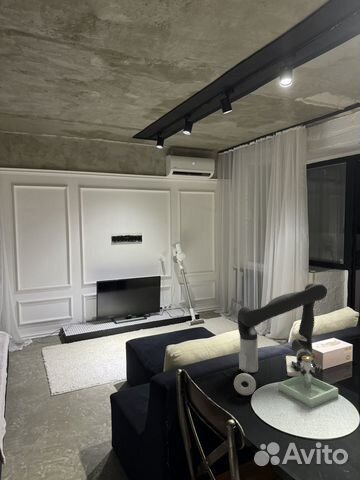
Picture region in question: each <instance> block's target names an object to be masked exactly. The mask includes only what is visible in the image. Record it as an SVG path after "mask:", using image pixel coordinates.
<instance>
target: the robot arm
mask: <svg viewBox="0 0 360 480" xmlns="http://www.w3.org/2000/svg"><path fill="white" fill-rule="evenodd" d="M327 294H328V288H327V287H326V286H325V285H324V284H321V283H319V282H317V283H315V282H314V283H312V282H311V283H308V284H306V285H305V287H304V289H303V290H300V291H295V292H290V293H289V292H288V293H285V294H282V295H279V296H276V297H274V298H273V299H271V300H270V301H269V302H268V303H267V304H266V305H263V306H261V307H258V308H251V307H249V306H243V307H241V308H240V309H239V311H238V313H237V326H238V327H237V328H238V332H239V344H240V345H239V347H240V348H239V349H240V350H239V351H238V363H239V365H238V367H239V368H238V369H239V370H240V369H241V371H243V373H246V374H249V373H252V374H253V373H257V372H258V371H259V353H258V352H259V350H258V349H259V348H258V345H259V344H258V332H257V330H256V328H255V327H256V326H258V325H259V324H262V323H263V322H265V321H267V320H270V319H272V318H275V317H278V316H280V315H283V314H285V313H286V314H287V313H289V312H291V311H293V310H296V309H298V308H300V307H302V306H303V307H302V315H301V318H300V319H301V320H300V323H299V328H298V334H299V335H300V336H301V337H304V338H305V340H306V341H305V340H302V339H299V338H296V339H293V340H292V341H291V349H292V352H293V353H294V354H295V355H296V357H297V363H296V362H293V361H292V368H294V369H295V370H296V371H297V372H301V374H303V376H305V375H304V361H303V360H302V356H311V357H312V358H313V356H312V355H313V354H312V353H313V341H312V340H313V339H312V338H313V331H314V327H315V314H314V310H315V309H314V307H315V303H316V302H317V301H321V300H324V299H325V298H326V297H327ZM321 370H322V364H321V362H318V363H316V362H315V361H314V359H313V360H312V361H311V375H312V376H313V377H314V376H316V374H319V373H320V371H321ZM248 372H249V373H248Z"/></svg>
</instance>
